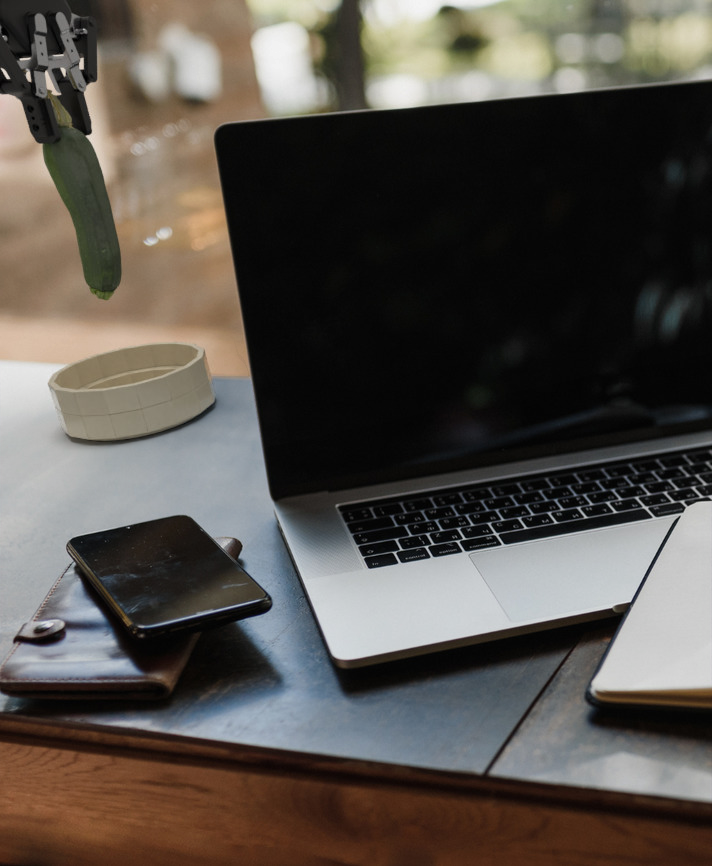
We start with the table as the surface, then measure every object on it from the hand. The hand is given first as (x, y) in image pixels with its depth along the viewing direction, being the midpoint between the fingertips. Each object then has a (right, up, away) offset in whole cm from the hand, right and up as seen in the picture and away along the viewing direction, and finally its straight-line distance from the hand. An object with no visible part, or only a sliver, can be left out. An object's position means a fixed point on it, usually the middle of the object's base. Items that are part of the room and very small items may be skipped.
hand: (64, 138), depth 98 cm
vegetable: (+1, -14, +6) cm, 15 cm away
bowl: (+2, -25, +11) cm, 27 cm away
